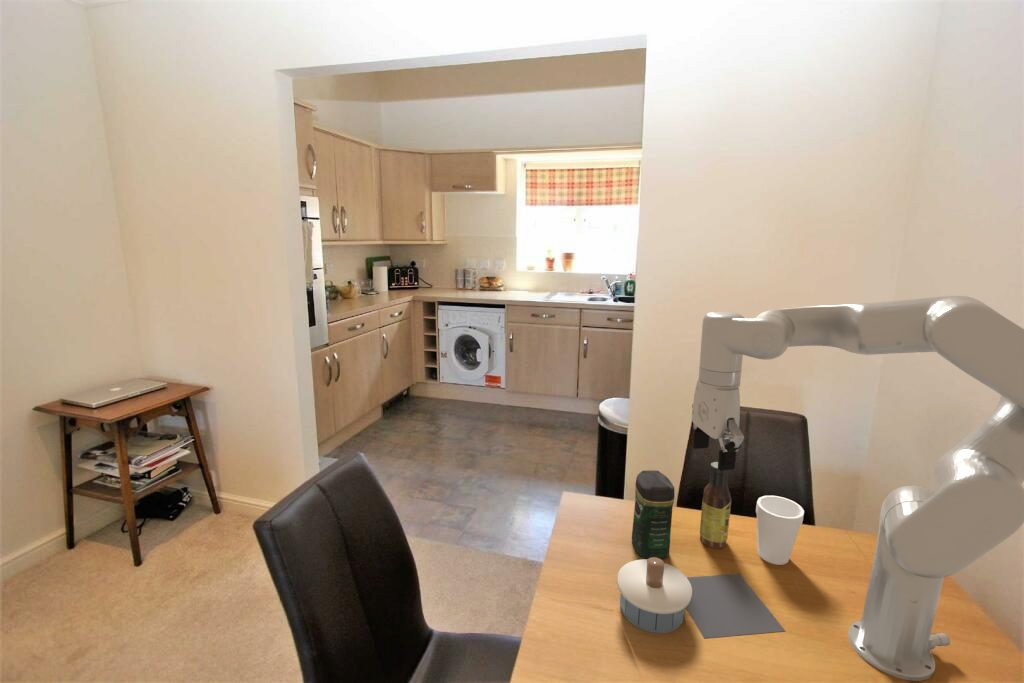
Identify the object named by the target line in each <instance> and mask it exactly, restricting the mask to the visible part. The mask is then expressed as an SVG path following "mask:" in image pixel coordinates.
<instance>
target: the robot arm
mask: <svg viewBox="0 0 1024 683" xmlns="http://www.w3.org/2000/svg"><path fill="white" fill-rule="evenodd" d="M701 324H702V326H701V328H702V329H701V339H700V341H701V342H700V353H699V354H700V355H699V368H698V371H699V372H698V378H697V382H696V384H695V390H694V395H693V401H692V402H693V403H692V405H691V410H692V411H691V421H692V423H693V425H692V426H693V439H692V440H693V443H692V447H693V448H694V449H695V450H698V449H707V448H709V446H710V438H712V439H713V440H717V439H718V442H719V445H720V448H721V449H720V450H718V452H719V453H718V458H717V459H718V460H717V462H718V469H719V470H720V471H722V470H729V471H732V470H734V469H735V468H736V458H737V452H739V449H740V448H741V446H742V443H743V441H744V440H745V436H744V434H743V432H742V431H741V428H740V420H741V417H740V415H741V413H740V412H741V411H740V410H741V400H740V399H741V396H740V386H741V381H742V380H741V378H742V366H743V357H744V356H747V357H750V358H754V359H758V360H764V361H765V360H767V361H769V360H773V359H774V360H775V359H777V358H779V357H780V356H782V355H783V354H785V352H786V351H787V350H788V348H791V347H794V348H795V347H811V346H813V347H816V346H817V347H819V346H820V347H821V346H822V347H831V348H837V349H841V350H844V351H847V352H850V353H852V354H858V355H864V356H866V355H867V356H868V355H870V356H871V355H872V356H873V355H874V356H875V355H888V354H913V353H937V354H938V355H940V357H942V358H943V359H945V360H946V361H947V362H949V363H951V364H953V365H954V366H955V367H957V368H958V369H959V370H961V371H963V372H964V373H966V374H967V376H968V375H969V376H970V377H972V378H973V379H974V380H976V381H979V382H980V383H982V385H985V386H986V387H988V388H990V389H991V390H993V391H994V392H995V393H998V394H999V395H1000V398H999V401H998V403H997V405H996V407H995V408H994V410H993V411H992V412H991V413H990V414H989V416H987V417H986V419H984V420H983V421H982V423H980V424H979V425H978V426H977V427H976V428H975V429H973V430H972V431H971V432H970V433H969V434H967V436H965V437H964V438H963V439H962V440H960V441H959V442H958V443H956V445H954V446H953V447H952V448H950V449H949V450H948V451H946V453H944V454H943V455H942V456H941V457H940V458H939V459H938V460H937V462H936V463H935V465H934V468H933V477H934V480H935V485H936V488H937V491H936V492H935V491H933V490H931V489H929V488H927V487H923V486H920V485H911V484H910V485H904V486H899V487H897V488H895V489H894V490H892V491H891V492H889V493H888V495H886V496H885V498H884V500H883V503H882V504H881V510H880V514H879V524H878V531H877V540H876V546H875V550H874V551H875V552H874V556H873V560H872V561H873V562H872V566H871V571H870V576H869V581H868V582H869V583H868V587H867V591H866V597H865V601H864V606H863V613H862V617H861V619H860V620H857V621H854V622H853V623H851V625H850V626H849V628H848V633H847V638H848V640H849V644H851V647H852V648H853V650H855V652H856V653H857V654H858V655H859V656H860V657H861V658H862V659H863V660H864V661H865V662H867V663H868V664H870V665H871V666H873V667H874V668H876V669H878V670H879V671H881V672H882V673H885V674H887V675H889V676H892V677H895V678H898V679H902V680H905V681H912V682H915V681H916V682H921V681H927V680H929V679H930V678H931V677H932V676H933V675H934V673H935V669H936V661H935V658H934V656H933V654H932V653H931V650H934V649H935V648H936V647H946V646H950V645H951V639H950V638H949V636H948V635H947V633H944V632H943V633H941V632H940V633H932V629H933V624H934V620H935V617H936V613H937V608H938V603H939V599H940V595H941V592H942V587H943V583H944V579H945V578H947V577H951V576H952V575H955V574H958V573H959V572H961V571H963V570H964V569H966V568H967V567H969V566H970V565H971V564H973V563H975V562H976V561H977V560H979V559H980V558H982V557H984V556H985V555H986V554H987V553H989V552H990V551H992V550H994V548H996V547H998V546H999V545H1001V543H1003V542H1005V541H1006V540H1007V539H1008V538H1010V537H1011V536H1013V535H1014V534H1015V533H1016V532H1018V531H1019V530H1020V529H1021V527H1022V525H1023V524H1024V486H1023V485H1022V484H1023V482H1024V327H1022V326H1020V325H1018V324H1016V323H1015V322H1014V321H1011V320H1010V319H1009V318H1007V317H1006V316H1004V315H1003V314H1001V313H999V312H998V311H996V310H995V309H993V308H992V307H990V306H988V304H985V303H984V302H982V301H980V300H979V299H976V298H974V297H970V296H967V295H946V296H944V295H943V296H933V297H925V298H924V297H923V298H913V299H911V298H910V299H901V300H891V301H879V302H878V301H877V302H867V303H853V304H852V303H847V304H846V303H845V304H836V305H835V304H834V305H833V304H832V305H831V304H830V305H813V306H811V305H810V306H809V305H808V306H800V307H798V306H797V307H788V308H777V309H770V310H767V311H766V310H765V311H763V312H761V313H759V314H757V315H756V316H755V317H754V318H753V317H752V318H745V317H744V316H743V315H742V314H740V313H737V312H731V311H711V312H707V314H705V315H704V317H703V318H702V323H701ZM726 440H729V442H728V443H727V442H726ZM931 633H932V634H931Z"/></svg>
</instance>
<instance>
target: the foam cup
mask: <svg viewBox="0 0 1024 683" xmlns="http://www.w3.org/2000/svg"><path fill="white" fill-rule="evenodd" d="M755 514H756V538H757V539H756V541H757V543H756V544H757V546H756V547H757V548H756V550H757V554H758V555H759V557H760V558H761V559H762V560H763V561H765V562H767V563H769V564H772V565H776V566H779V565H781V566H783V565H785V564H788V562H789V561H790V557H791V555H792V552H793V548H794V546H795V544H796V543H795V542H796V541H797V540H796V539H797V536H798V533H799V530H800V528H801V526H802V525H803V521H804V515H805V510H804V508H803V507H802V506H801V505H800V504H798V503H797V502H796V501H794V500H791V499H789V498H786V497H782V496H778V495H763V496H760V497H758V499H757V501H756V506H755Z"/></svg>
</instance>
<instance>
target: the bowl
mask: <svg viewBox="0 0 1024 683" xmlns="http://www.w3.org/2000/svg"><path fill="white" fill-rule="evenodd" d="M619 604H620V608H621V613H623V615H624V618H626V619H627V621H628V622H629V623H630V624H632V625H633V626H635V627H636V628H638V629H640V630H643V631H646V632H648V633H654V634H667V633H671V632H674V631H676V630H677V629H679V627H680V626H681V625H682V624H683V622H684V614H685V609H683V610H681V611H679V612H676V613H671V614H657V613H652V612H648V611H645V610H642V609H640V608H638V607H636V606H634V605H633V604H631V603H630V602H629V601H627V600H626V599H625V598H624V597H623V595H622V594H621V593H620V594H619Z"/></svg>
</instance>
